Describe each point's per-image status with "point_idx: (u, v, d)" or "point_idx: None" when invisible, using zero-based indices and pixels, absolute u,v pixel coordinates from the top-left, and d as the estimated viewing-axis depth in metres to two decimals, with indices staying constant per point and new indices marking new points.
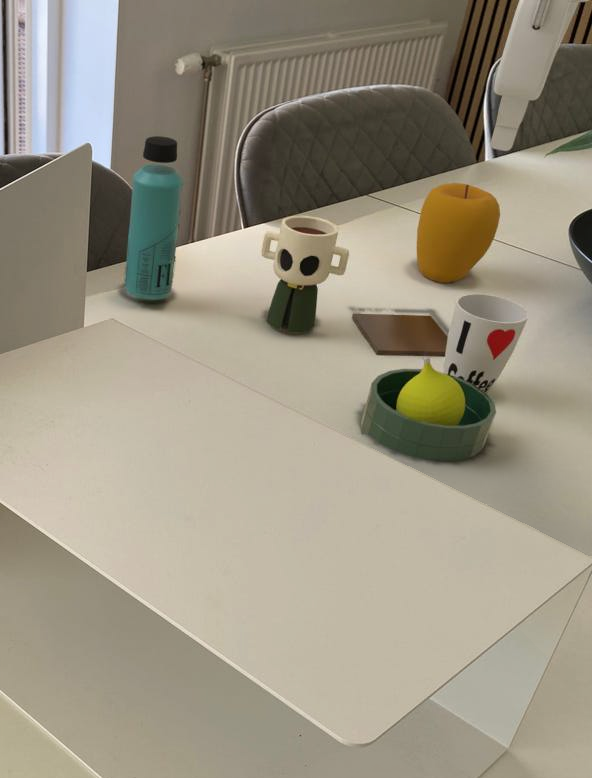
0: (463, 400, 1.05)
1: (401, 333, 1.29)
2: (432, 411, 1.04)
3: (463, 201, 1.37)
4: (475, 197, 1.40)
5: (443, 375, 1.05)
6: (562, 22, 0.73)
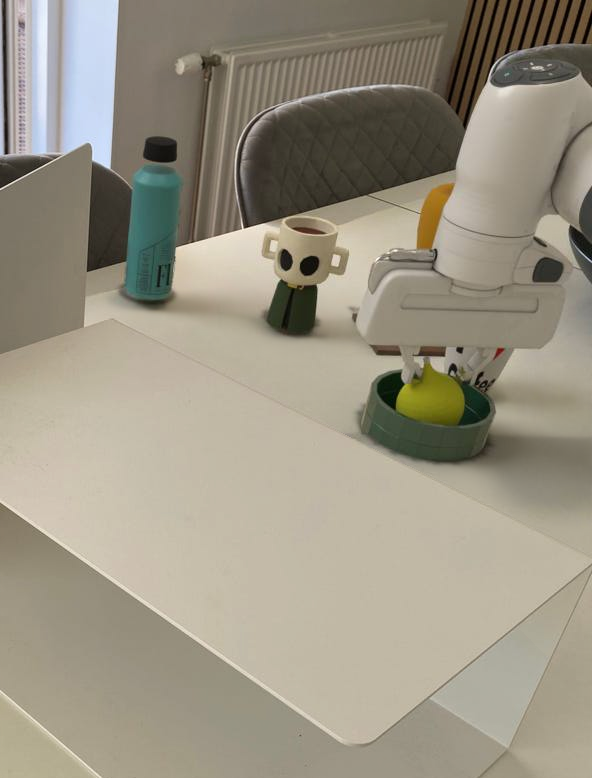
0: (463, 400, 1.05)
1: None
2: (432, 411, 1.04)
3: None
4: None
5: (443, 375, 1.05)
6: (382, 294, 0.96)
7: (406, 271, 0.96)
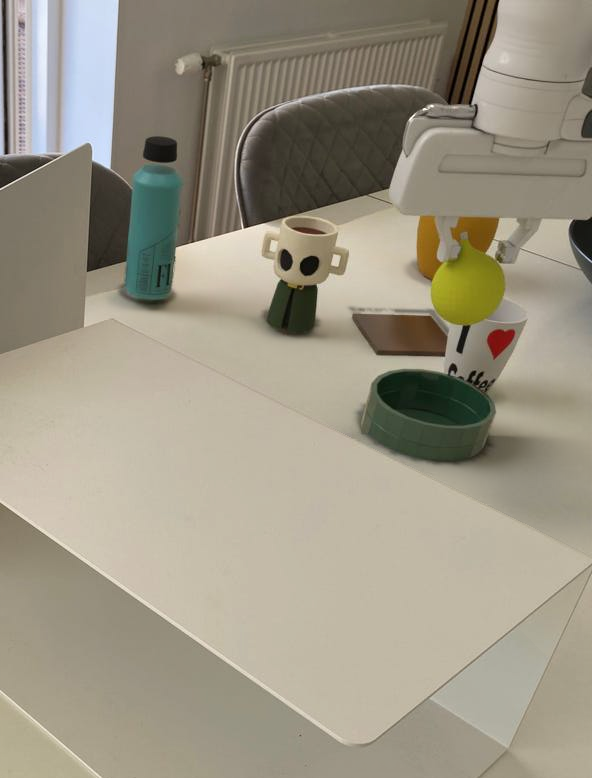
0: (503, 279, 0.98)
1: (401, 333, 1.29)
2: (471, 291, 0.97)
3: None
4: None
5: (481, 253, 0.98)
6: (419, 155, 0.89)
7: (444, 128, 0.89)
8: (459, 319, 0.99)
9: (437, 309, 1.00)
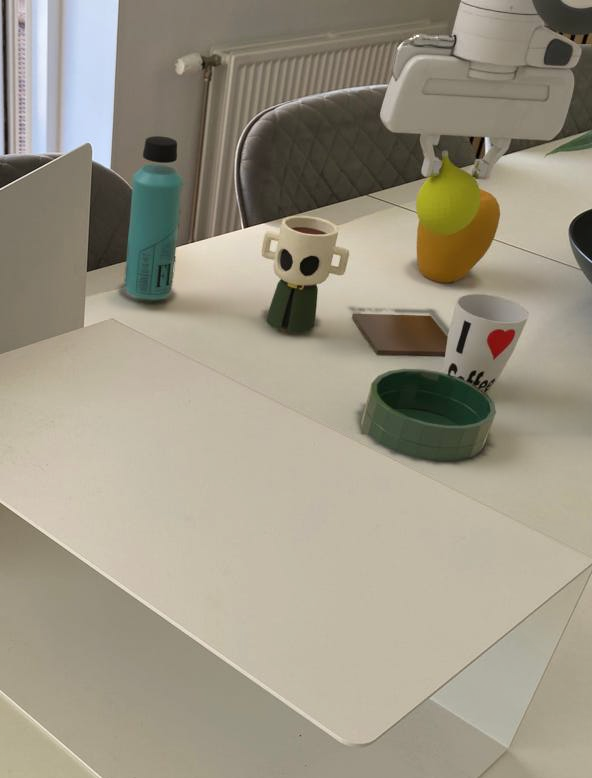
0: (478, 192, 1.13)
1: (401, 333, 1.29)
2: (450, 201, 1.12)
3: None
4: None
5: (460, 169, 1.13)
6: (406, 78, 1.05)
7: (428, 55, 1.04)
8: (440, 227, 1.15)
9: (421, 219, 1.16)
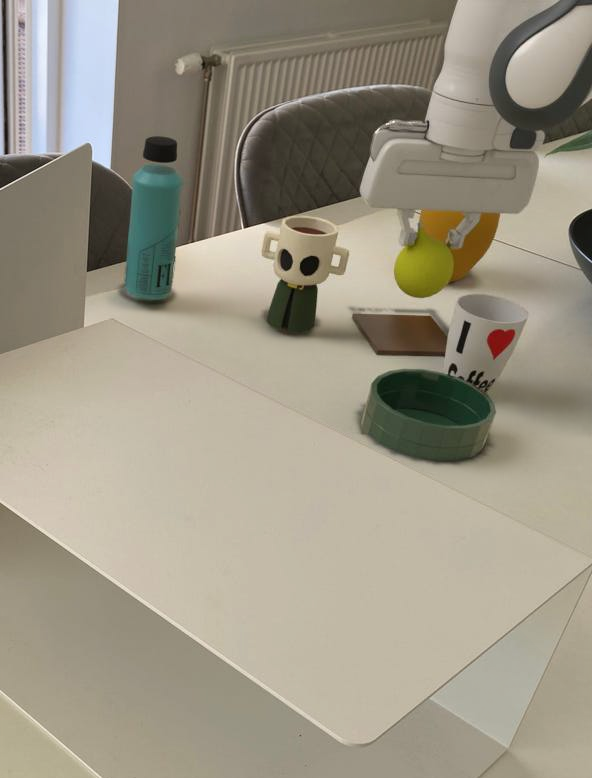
0: (451, 261, 1.22)
1: (401, 333, 1.29)
2: (425, 269, 1.21)
3: None
4: None
5: (434, 239, 1.22)
6: (382, 160, 1.13)
7: (403, 139, 1.12)
8: (416, 292, 1.23)
9: (399, 284, 1.24)
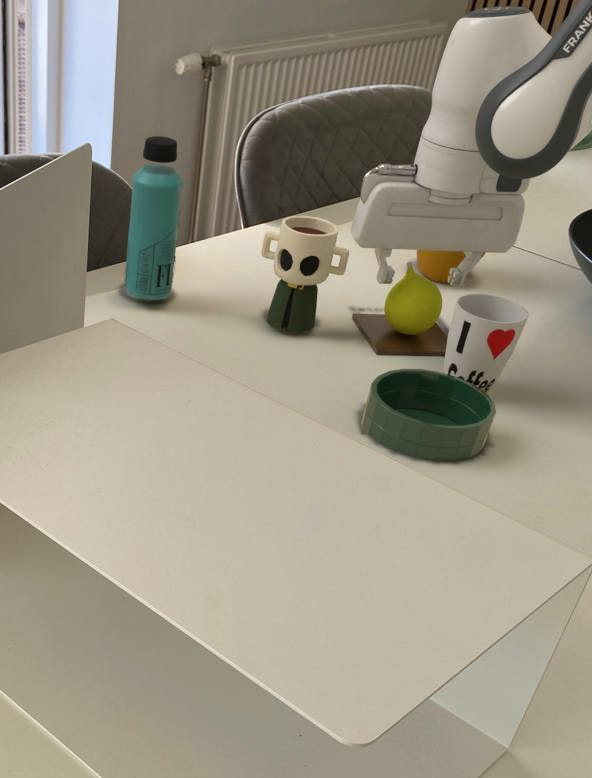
0: (440, 299, 1.25)
1: (401, 333, 1.29)
2: (414, 308, 1.24)
3: None
4: None
5: (423, 278, 1.25)
6: (372, 203, 1.16)
7: (392, 183, 1.16)
8: (406, 330, 1.26)
9: (389, 321, 1.27)
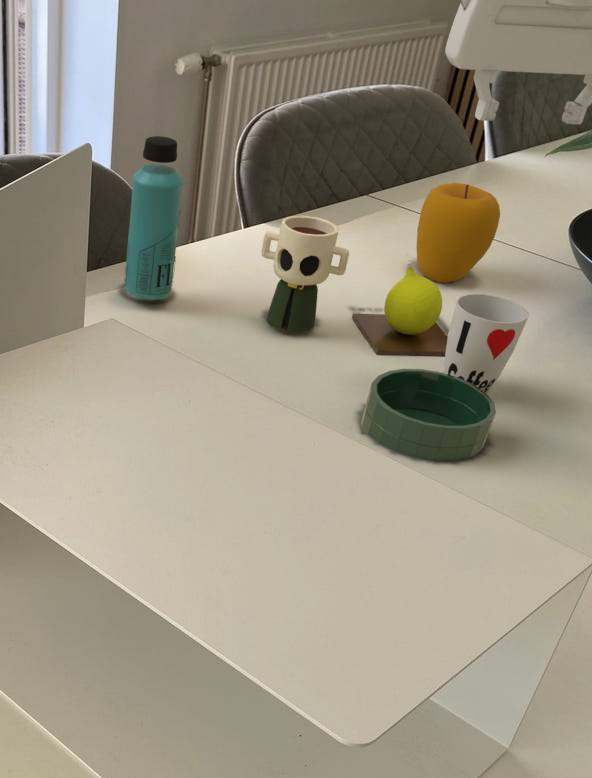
0: (440, 299, 1.25)
1: (401, 333, 1.29)
2: (414, 308, 1.24)
3: (463, 201, 1.37)
4: (475, 197, 1.40)
5: (423, 278, 1.25)
6: (477, 6, 0.93)
7: None
8: (406, 330, 1.26)
9: (389, 321, 1.27)
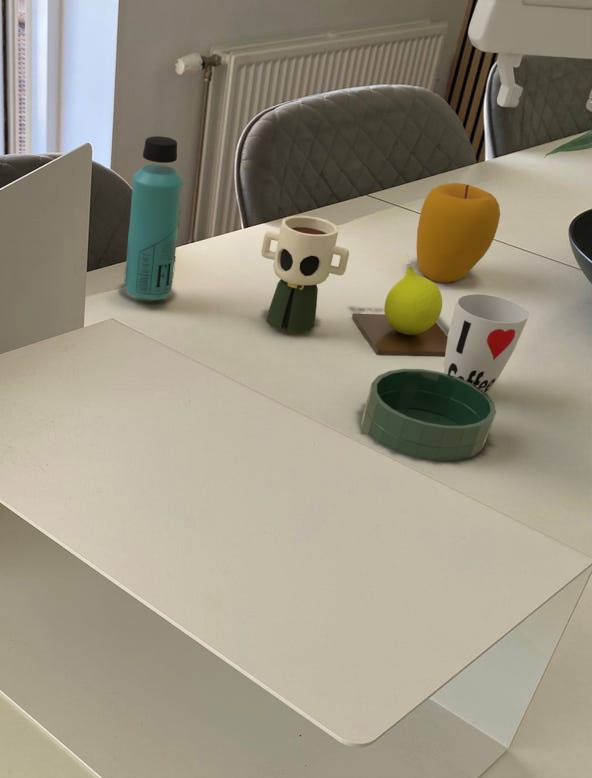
0: (440, 299, 1.25)
1: (401, 333, 1.29)
2: (414, 308, 1.24)
3: (463, 201, 1.37)
4: (475, 197, 1.40)
5: (423, 278, 1.25)
6: None
7: None
8: (406, 330, 1.26)
9: (389, 321, 1.27)
